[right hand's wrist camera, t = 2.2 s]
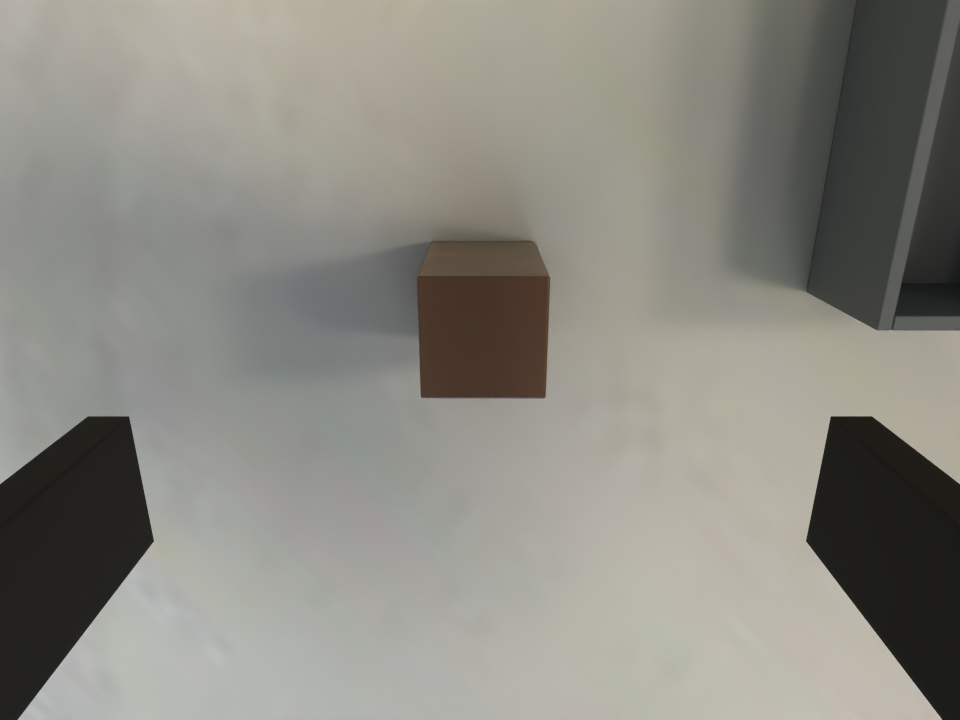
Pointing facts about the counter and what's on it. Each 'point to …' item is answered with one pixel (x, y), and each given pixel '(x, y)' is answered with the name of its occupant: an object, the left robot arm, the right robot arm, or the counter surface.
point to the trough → (895, 172)
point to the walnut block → (483, 320)
